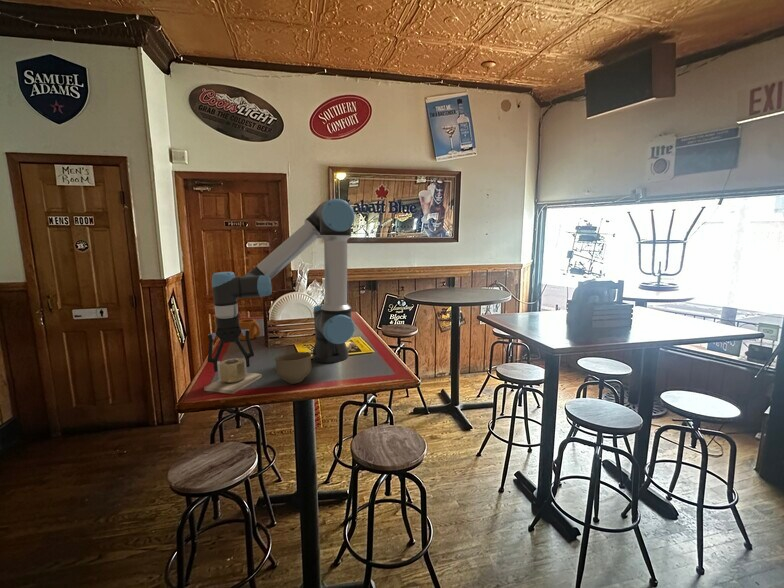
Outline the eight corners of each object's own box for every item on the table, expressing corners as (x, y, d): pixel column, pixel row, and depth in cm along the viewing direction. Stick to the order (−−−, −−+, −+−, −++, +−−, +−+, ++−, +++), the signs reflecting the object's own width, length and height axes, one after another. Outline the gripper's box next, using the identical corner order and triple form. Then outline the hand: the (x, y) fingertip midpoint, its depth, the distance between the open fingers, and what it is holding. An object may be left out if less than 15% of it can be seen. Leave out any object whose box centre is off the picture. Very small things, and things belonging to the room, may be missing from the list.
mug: (251, 341, 203) (249, 324, 202) (235, 339, 209) (233, 322, 208) (265, 336, 211) (263, 319, 209) (249, 334, 217) (247, 318, 215)
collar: (244, 372, 153) (243, 357, 152) (245, 379, 145) (243, 363, 144) (221, 376, 150) (219, 360, 149) (221, 383, 143) (219, 367, 142)
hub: (261, 377, 154) (259, 356, 152) (232, 393, 139) (230, 370, 137) (235, 374, 158) (233, 353, 156) (204, 390, 143) (201, 368, 141)
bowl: (310, 373, 156) (308, 348, 154) (315, 385, 144) (313, 357, 142) (276, 378, 152) (273, 352, 150) (278, 390, 140) (275, 362, 138)
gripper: (257, 311, 151) (262, 369, 155) (195, 317, 144) (202, 378, 147) (258, 314, 144) (264, 376, 148) (193, 321, 137) (200, 386, 141)
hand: (233, 377), depth 148 cm, fingers closed on collar, 8 cm apart
